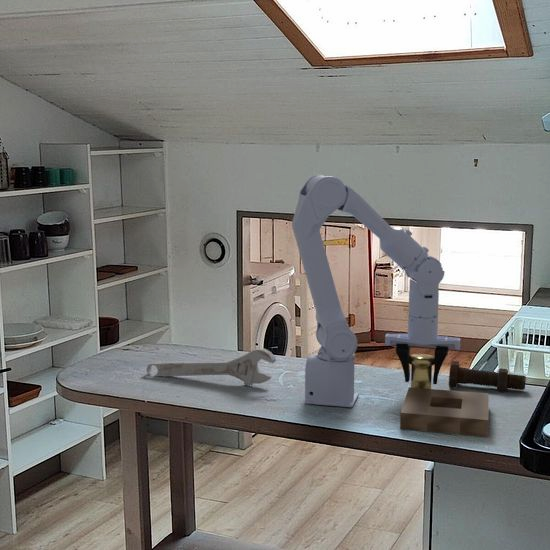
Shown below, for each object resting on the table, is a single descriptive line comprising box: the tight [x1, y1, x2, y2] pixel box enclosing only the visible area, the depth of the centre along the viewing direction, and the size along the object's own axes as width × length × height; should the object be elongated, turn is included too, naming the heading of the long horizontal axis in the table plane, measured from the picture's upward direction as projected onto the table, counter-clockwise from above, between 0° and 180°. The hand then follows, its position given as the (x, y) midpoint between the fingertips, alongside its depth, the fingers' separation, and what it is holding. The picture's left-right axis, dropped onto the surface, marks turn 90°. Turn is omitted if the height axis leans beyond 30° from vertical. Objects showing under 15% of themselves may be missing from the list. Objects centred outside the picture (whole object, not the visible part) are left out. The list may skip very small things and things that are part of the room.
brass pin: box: [409, 353, 434, 389], centre depth 157 cm, size 5×5×8 cm
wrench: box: [146, 347, 277, 387], centre depth 168 cm, size 8×2×30 cm
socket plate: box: [399, 386, 490, 437], centre depth 145 cm, size 15×15×3 cm
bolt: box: [448, 360, 527, 393], centre depth 163 cm, size 6×5×15 cm
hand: (421, 381), depth 158 cm, fingers closed on brass pin, 5 cm apart
